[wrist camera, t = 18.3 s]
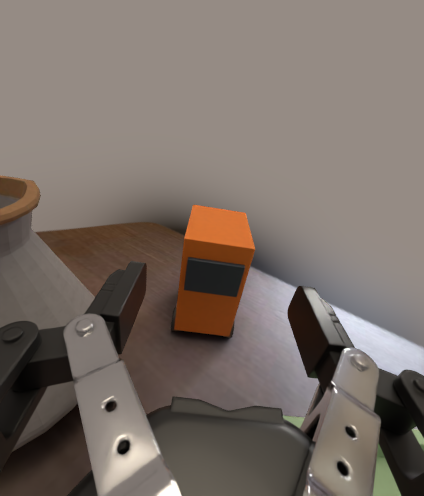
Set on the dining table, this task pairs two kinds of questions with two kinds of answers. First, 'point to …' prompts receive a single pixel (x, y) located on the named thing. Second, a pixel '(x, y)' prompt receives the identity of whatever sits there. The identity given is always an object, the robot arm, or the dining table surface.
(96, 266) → the dining table surface
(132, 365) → the dining table surface
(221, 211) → the toy van
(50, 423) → the coffee pot
